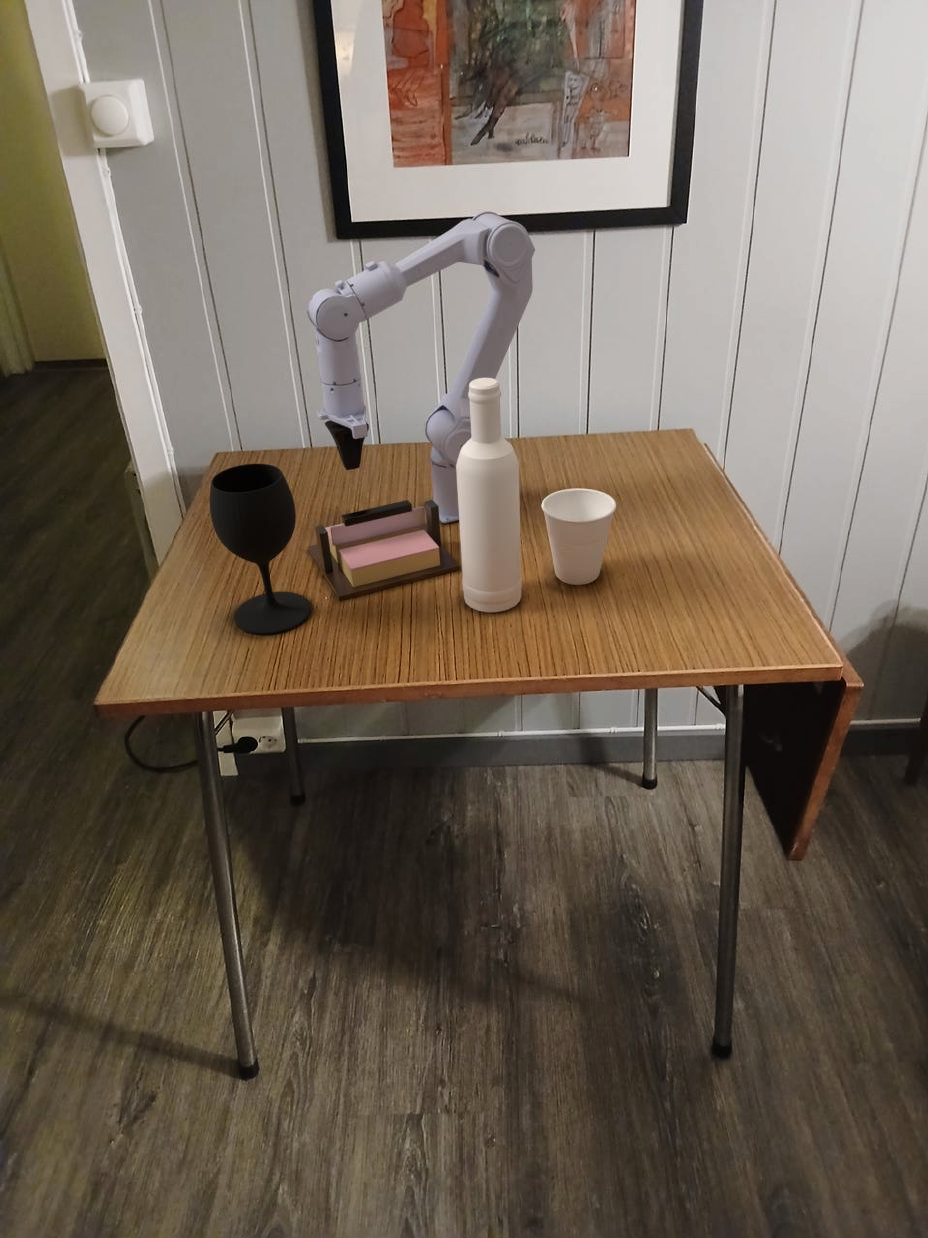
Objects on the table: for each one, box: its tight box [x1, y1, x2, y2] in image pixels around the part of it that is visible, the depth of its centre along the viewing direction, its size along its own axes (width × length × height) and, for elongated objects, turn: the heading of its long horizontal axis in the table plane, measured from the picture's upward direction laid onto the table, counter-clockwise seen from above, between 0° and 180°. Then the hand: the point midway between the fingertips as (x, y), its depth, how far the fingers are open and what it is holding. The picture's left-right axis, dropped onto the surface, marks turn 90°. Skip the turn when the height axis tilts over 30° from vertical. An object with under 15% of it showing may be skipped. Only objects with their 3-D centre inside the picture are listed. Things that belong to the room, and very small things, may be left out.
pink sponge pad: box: [325, 523, 440, 587], centre depth 135 cm, size 13×14×3 cm
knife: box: [329, 499, 426, 546], centre depth 133 cm, size 14×2×4 cm, turn 113°
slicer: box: [307, 499, 461, 602], centre depth 134 cm, size 18×16×7 cm
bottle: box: [456, 378, 523, 614], centre depth 118 cm, size 8×8×30 cm
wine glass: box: [209, 463, 312, 636], centre depth 120 cm, size 10×10×20 cm
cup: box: [540, 487, 617, 586], centre depth 127 cm, size 10×10×11 cm
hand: (352, 467), depth 139 cm, fingers closed
